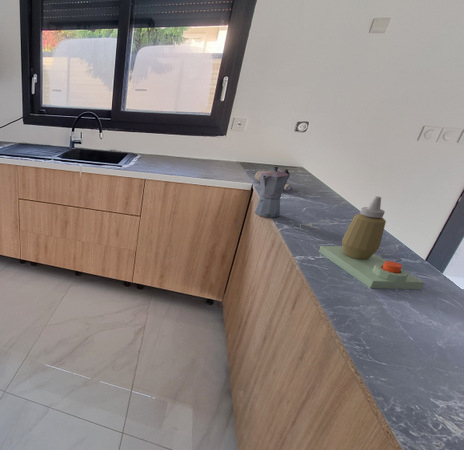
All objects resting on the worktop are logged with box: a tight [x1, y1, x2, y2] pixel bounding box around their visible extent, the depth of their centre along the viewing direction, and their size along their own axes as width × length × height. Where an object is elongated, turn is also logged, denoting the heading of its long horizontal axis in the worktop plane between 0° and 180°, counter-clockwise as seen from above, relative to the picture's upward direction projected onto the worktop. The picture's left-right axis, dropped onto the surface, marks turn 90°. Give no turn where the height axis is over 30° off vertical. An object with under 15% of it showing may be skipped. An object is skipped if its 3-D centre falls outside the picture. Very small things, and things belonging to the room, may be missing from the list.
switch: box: [382, 260, 403, 273], centre depth 80 cm, size 3×3×2 cm
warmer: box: [318, 245, 425, 290], centre depth 88 cm, size 12×20×4 cm, turn 175°
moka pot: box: [254, 166, 291, 219], centre depth 125 cm, size 10×15×20 cm, turn 117°
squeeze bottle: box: [341, 196, 387, 259], centre depth 88 cm, size 8×8×18 cm
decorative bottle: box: [254, 169, 293, 191], centre depth 162 cm, size 26×8×7 cm, turn 178°
